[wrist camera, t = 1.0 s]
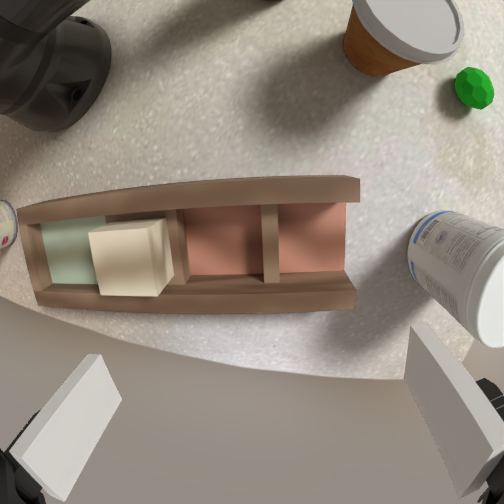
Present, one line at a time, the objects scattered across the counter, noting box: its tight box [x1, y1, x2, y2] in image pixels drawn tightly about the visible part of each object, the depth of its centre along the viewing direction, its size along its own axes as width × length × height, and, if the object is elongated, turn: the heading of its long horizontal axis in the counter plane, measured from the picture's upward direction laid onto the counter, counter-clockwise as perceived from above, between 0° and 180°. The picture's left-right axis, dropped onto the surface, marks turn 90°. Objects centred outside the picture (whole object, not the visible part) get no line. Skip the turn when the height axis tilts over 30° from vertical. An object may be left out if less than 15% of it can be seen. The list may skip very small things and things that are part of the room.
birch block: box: [88, 217, 174, 296], centre depth 27 cm, size 6×6×5 cm
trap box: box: [16, 175, 360, 314], centre depth 29 cm, size 12×36×6 cm, turn 93°
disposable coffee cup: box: [343, 0, 464, 76], centre depth 19 cm, size 10×10×12 cm
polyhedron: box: [455, 67, 494, 109], centre depth 22 cm, size 5×5×5 cm
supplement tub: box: [407, 210, 504, 348], centre depth 23 cm, size 10×10×15 cm
